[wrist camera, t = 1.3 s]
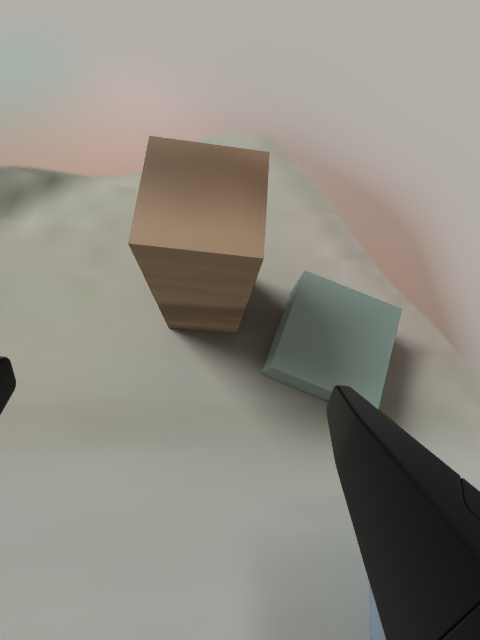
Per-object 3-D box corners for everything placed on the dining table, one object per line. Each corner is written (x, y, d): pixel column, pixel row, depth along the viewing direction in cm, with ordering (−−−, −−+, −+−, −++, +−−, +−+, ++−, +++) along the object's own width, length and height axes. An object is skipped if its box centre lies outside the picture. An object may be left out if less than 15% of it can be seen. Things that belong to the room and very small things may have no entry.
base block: (349, 410, 23) (378, 410, 19) (260, 374, 23) (270, 366, 19) (372, 324, 25) (402, 309, 21) (290, 292, 25) (304, 270, 21)
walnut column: (236, 334, 23) (263, 258, 12) (168, 327, 23) (128, 243, 11) (241, 272, 25) (269, 152, 13) (177, 266, 24) (149, 135, 13)
